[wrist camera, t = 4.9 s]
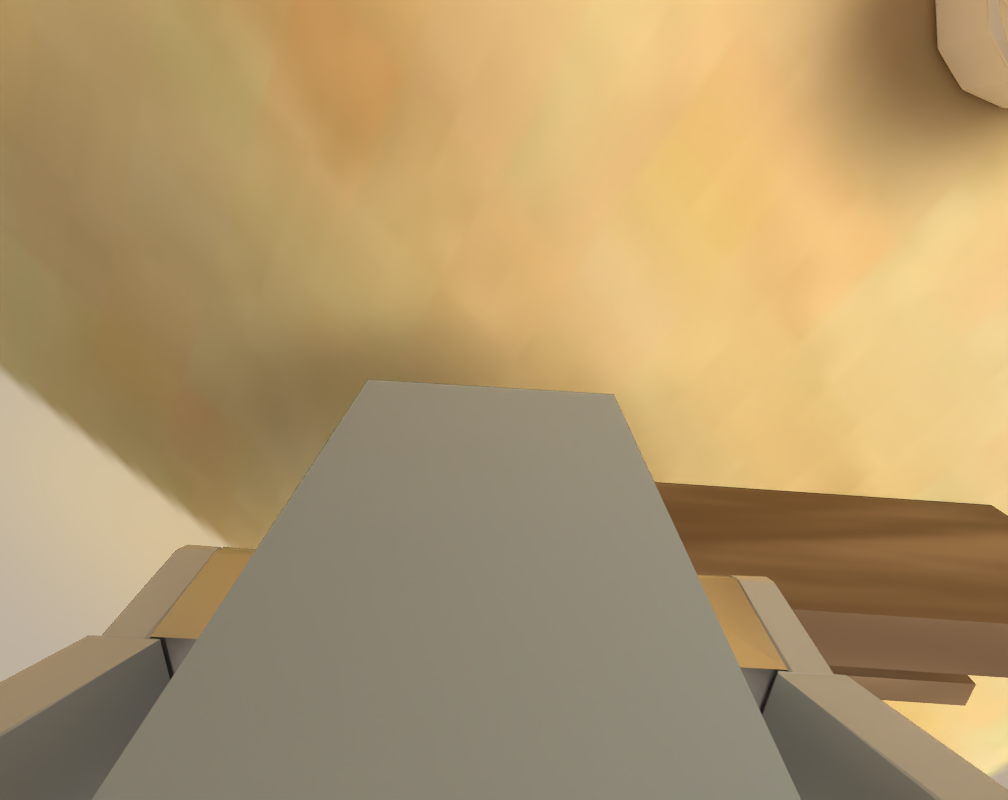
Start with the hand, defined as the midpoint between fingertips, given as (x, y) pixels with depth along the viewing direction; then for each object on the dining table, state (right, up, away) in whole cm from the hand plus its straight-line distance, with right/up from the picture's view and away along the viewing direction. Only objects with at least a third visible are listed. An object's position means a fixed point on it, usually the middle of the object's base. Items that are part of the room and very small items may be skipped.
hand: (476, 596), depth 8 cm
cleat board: (+10, -5, +16) cm, 20 cm away
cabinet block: (0, +2, +4) cm, 4 cm away
